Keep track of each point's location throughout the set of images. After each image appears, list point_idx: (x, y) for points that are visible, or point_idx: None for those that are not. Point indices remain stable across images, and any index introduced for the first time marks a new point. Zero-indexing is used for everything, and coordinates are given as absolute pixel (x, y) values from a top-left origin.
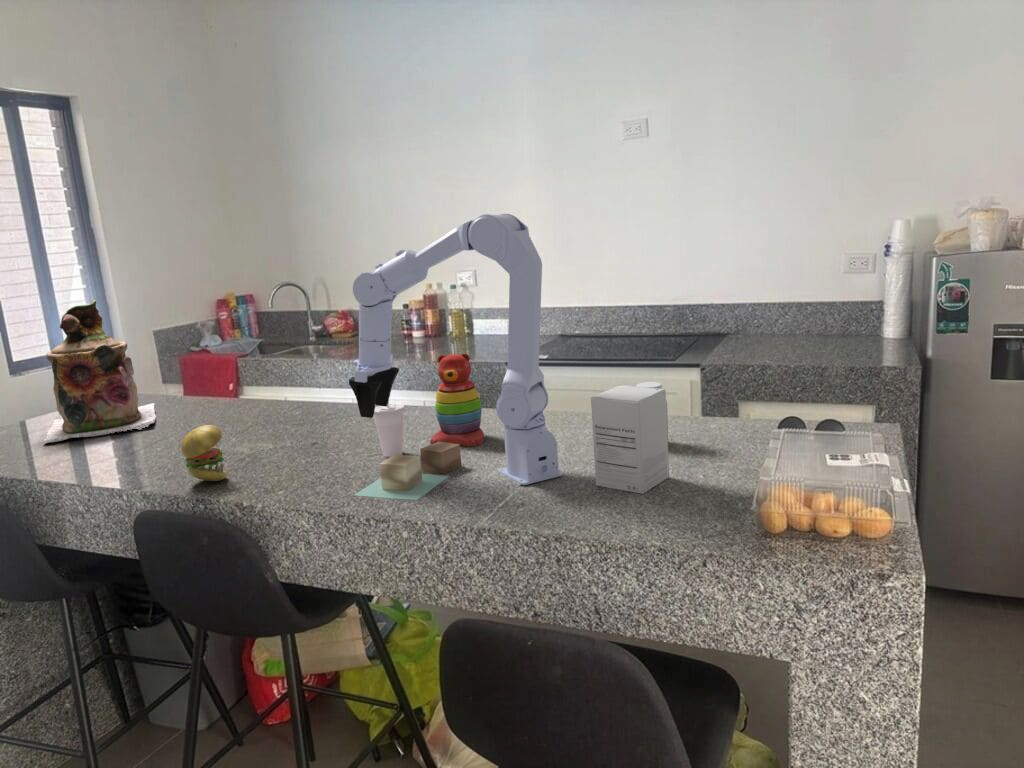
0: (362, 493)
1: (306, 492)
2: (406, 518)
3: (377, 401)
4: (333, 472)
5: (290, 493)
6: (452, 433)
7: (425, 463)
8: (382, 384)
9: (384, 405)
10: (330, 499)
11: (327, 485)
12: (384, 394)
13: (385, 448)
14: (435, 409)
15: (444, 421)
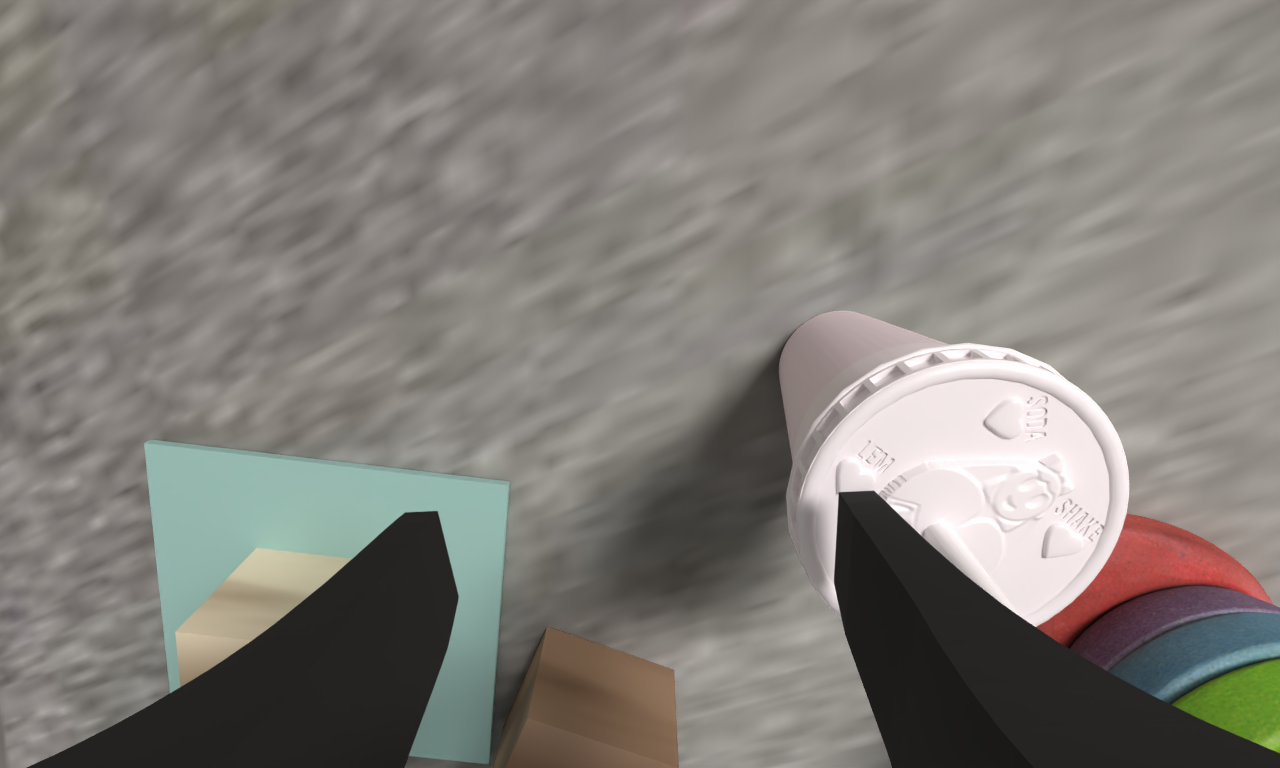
0: (178, 478)
1: (140, 129)
2: (12, 742)
3: (851, 535)
4: (501, 115)
5: (96, 26)
6: None
7: (530, 681)
8: (925, 758)
9: (836, 576)
10: (89, 334)
11: (275, 203)
12: (875, 666)
13: (786, 372)
14: (1258, 675)
15: None
